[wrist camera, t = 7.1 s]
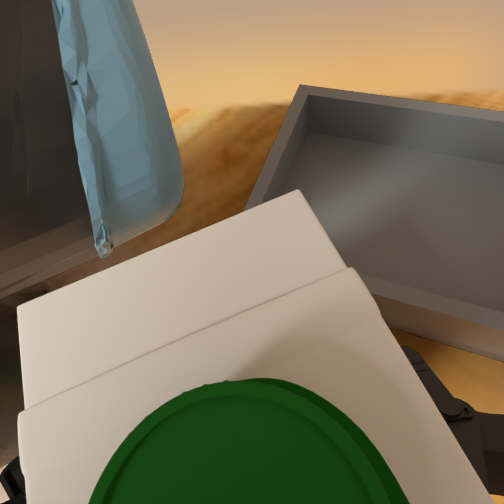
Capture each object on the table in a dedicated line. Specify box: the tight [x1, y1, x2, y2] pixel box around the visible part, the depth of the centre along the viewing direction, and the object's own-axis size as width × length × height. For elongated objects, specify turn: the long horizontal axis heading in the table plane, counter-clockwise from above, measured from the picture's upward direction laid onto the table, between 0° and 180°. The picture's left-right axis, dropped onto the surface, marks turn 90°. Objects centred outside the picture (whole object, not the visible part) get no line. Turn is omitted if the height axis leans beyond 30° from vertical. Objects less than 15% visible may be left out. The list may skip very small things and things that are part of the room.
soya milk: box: [17, 189, 495, 504], centre depth 14 cm, size 9×9×20 cm
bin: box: [243, 85, 504, 362], centre depth 26 cm, size 22×16×5 cm
